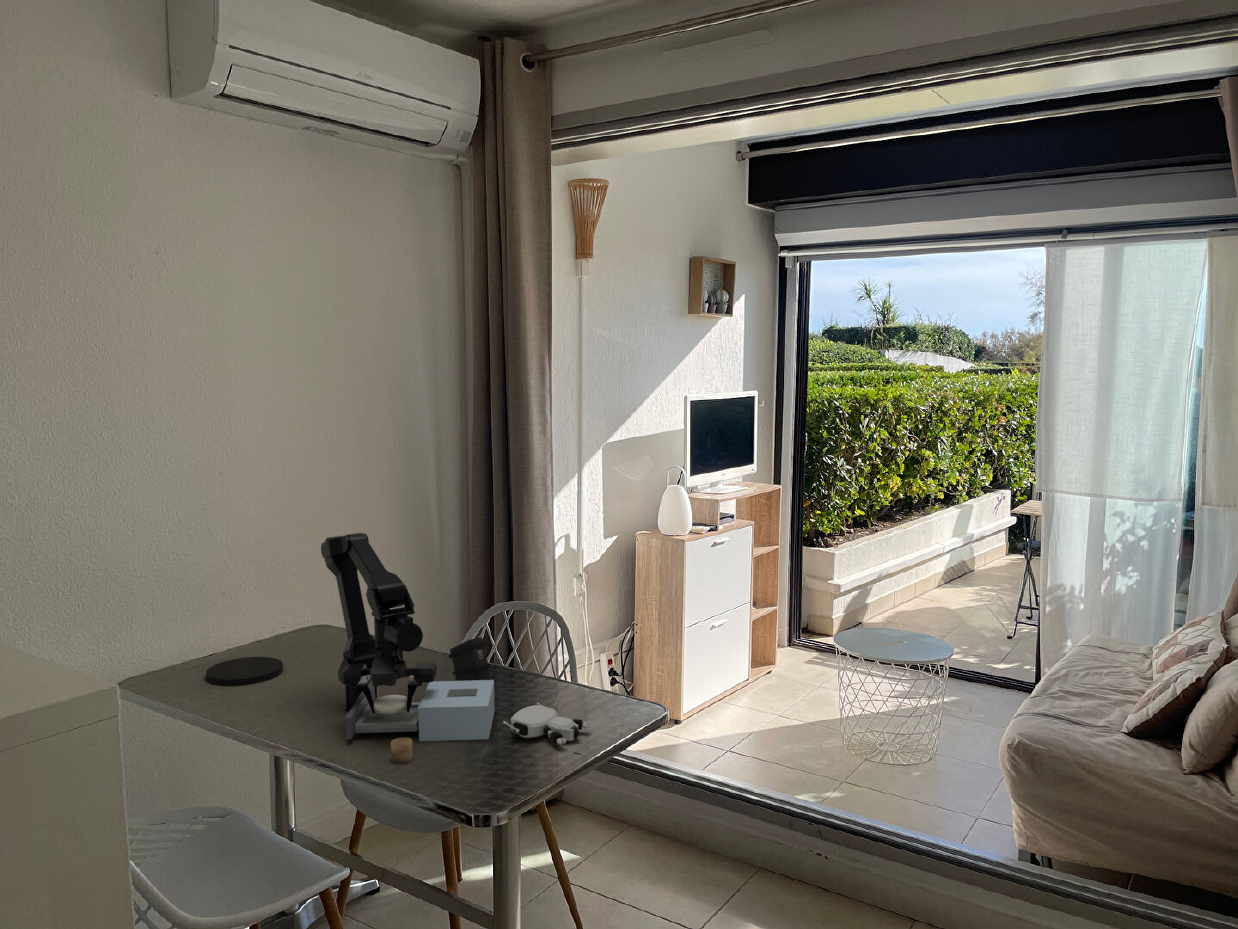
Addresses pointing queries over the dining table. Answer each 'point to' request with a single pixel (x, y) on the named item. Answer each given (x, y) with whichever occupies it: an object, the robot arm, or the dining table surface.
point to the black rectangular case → (470, 661)
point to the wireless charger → (244, 671)
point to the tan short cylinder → (401, 750)
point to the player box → (456, 710)
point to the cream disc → (390, 704)
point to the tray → (379, 719)
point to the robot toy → (545, 724)
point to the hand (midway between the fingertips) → (391, 712)
